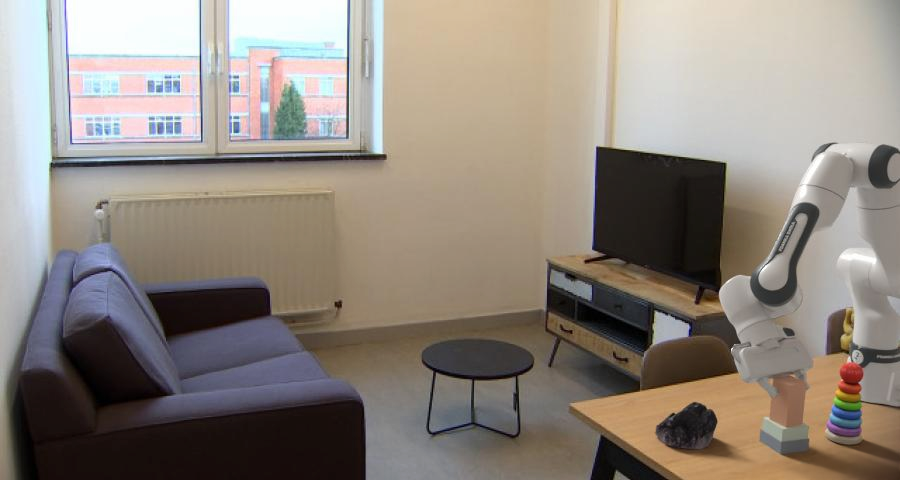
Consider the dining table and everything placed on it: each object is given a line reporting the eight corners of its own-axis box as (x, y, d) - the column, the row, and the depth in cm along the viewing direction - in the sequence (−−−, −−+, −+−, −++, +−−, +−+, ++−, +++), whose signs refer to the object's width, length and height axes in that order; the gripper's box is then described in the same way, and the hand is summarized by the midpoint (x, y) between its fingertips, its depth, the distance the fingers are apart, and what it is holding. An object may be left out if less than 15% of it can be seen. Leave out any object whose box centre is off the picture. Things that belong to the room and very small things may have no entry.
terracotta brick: (785, 416, 203) (789, 375, 201) (802, 424, 199) (806, 382, 197) (769, 419, 201) (773, 378, 199) (785, 427, 197) (790, 385, 195)
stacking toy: (859, 449, 200) (868, 371, 196) (821, 441, 204) (829, 364, 200) (863, 437, 206) (872, 361, 203) (827, 429, 210) (835, 355, 207)
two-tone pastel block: (786, 438, 206) (789, 414, 204) (808, 451, 199) (810, 426, 197) (759, 441, 203) (761, 417, 202) (780, 454, 196) (782, 429, 195)
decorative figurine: (874, 352, 271) (879, 305, 268) (873, 360, 263) (878, 311, 261) (840, 347, 275) (845, 301, 272) (838, 354, 268) (843, 307, 265)
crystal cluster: (643, 437, 206) (645, 399, 203) (684, 421, 213) (686, 384, 210) (685, 463, 195) (688, 423, 192) (727, 445, 202) (730, 407, 199)
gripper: (736, 339, 198) (765, 394, 191) (800, 328, 207) (830, 380, 200) (720, 352, 202) (748, 406, 196) (783, 341, 212) (813, 392, 205)
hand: (790, 393), depth 198 cm, fingers open, 8 cm apart
